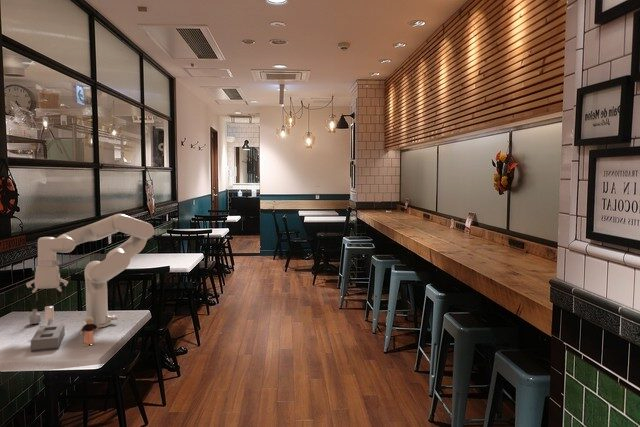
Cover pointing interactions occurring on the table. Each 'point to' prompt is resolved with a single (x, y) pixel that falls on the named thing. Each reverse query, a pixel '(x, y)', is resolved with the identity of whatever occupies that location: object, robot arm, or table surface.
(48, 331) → the hole block
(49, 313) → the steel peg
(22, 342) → the table surface
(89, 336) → the grandmother figurine
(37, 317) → the reed diffuser
